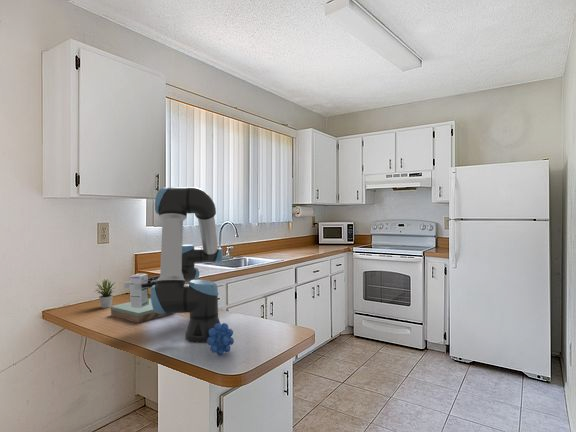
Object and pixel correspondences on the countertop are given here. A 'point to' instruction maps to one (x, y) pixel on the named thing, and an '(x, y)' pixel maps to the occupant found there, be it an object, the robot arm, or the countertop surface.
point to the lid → (133, 309)
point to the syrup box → (138, 291)
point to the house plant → (105, 294)
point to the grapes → (220, 338)
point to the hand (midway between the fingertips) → (129, 286)
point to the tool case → (136, 318)
